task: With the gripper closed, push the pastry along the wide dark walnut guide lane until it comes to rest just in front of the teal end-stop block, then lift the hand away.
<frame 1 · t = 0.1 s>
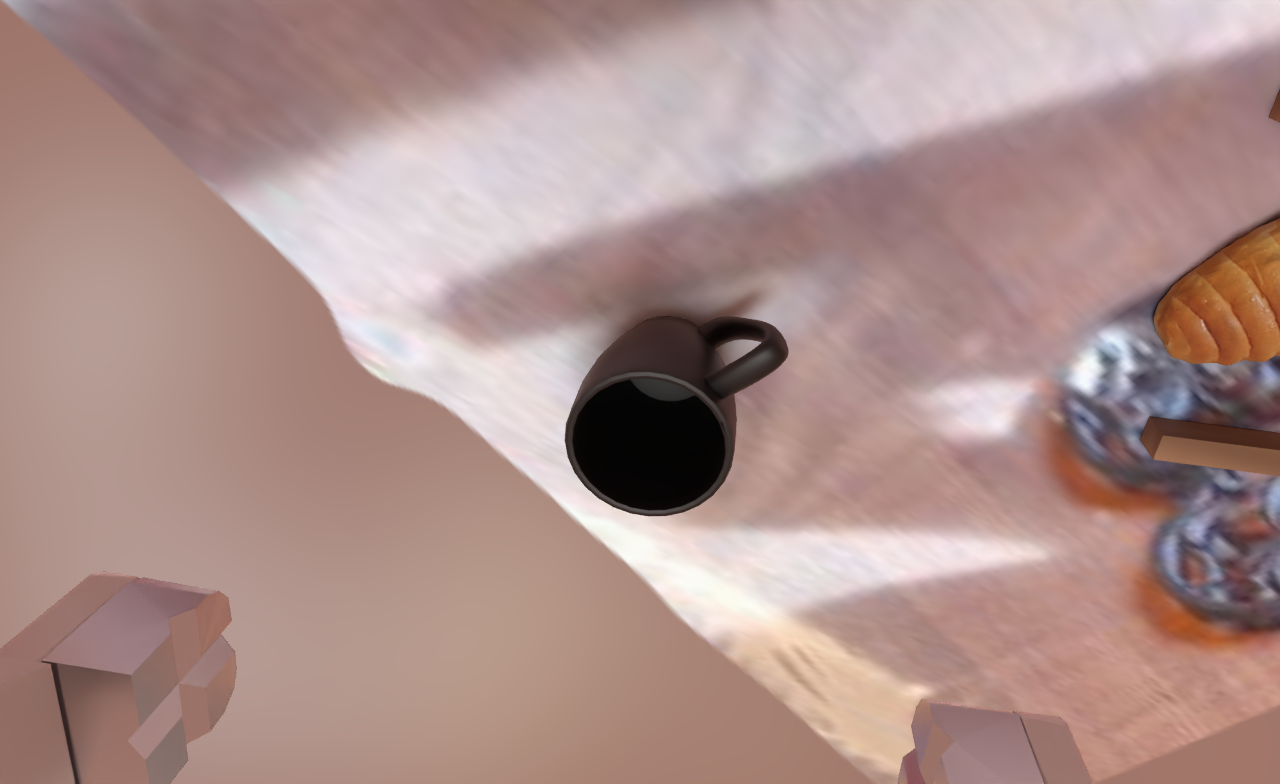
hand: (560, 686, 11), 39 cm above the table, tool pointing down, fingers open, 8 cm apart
mug: (695, 341, 51), on the table
pastry: (1263, 283, 46), on the table
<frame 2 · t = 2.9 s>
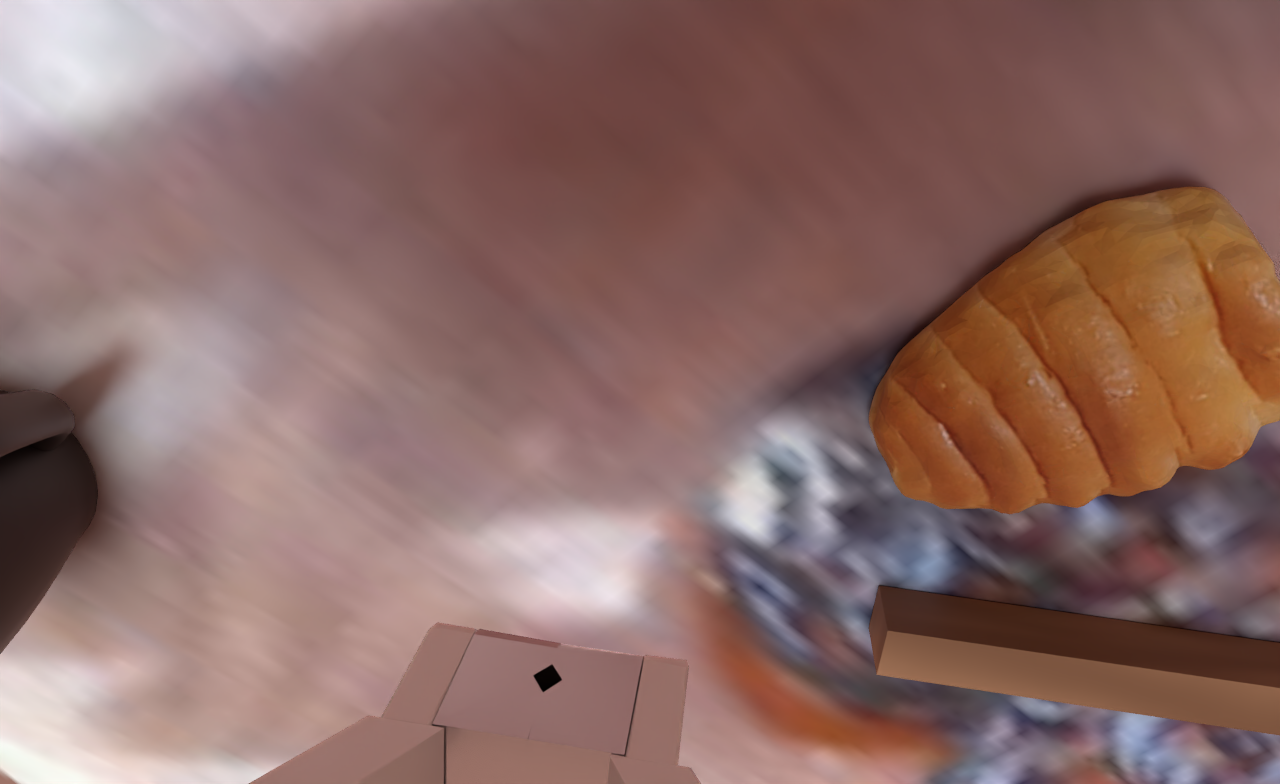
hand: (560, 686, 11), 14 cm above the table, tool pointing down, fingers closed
mug: (52, 434, 28), on the table
pastry: (1076, 347, 23), on the table
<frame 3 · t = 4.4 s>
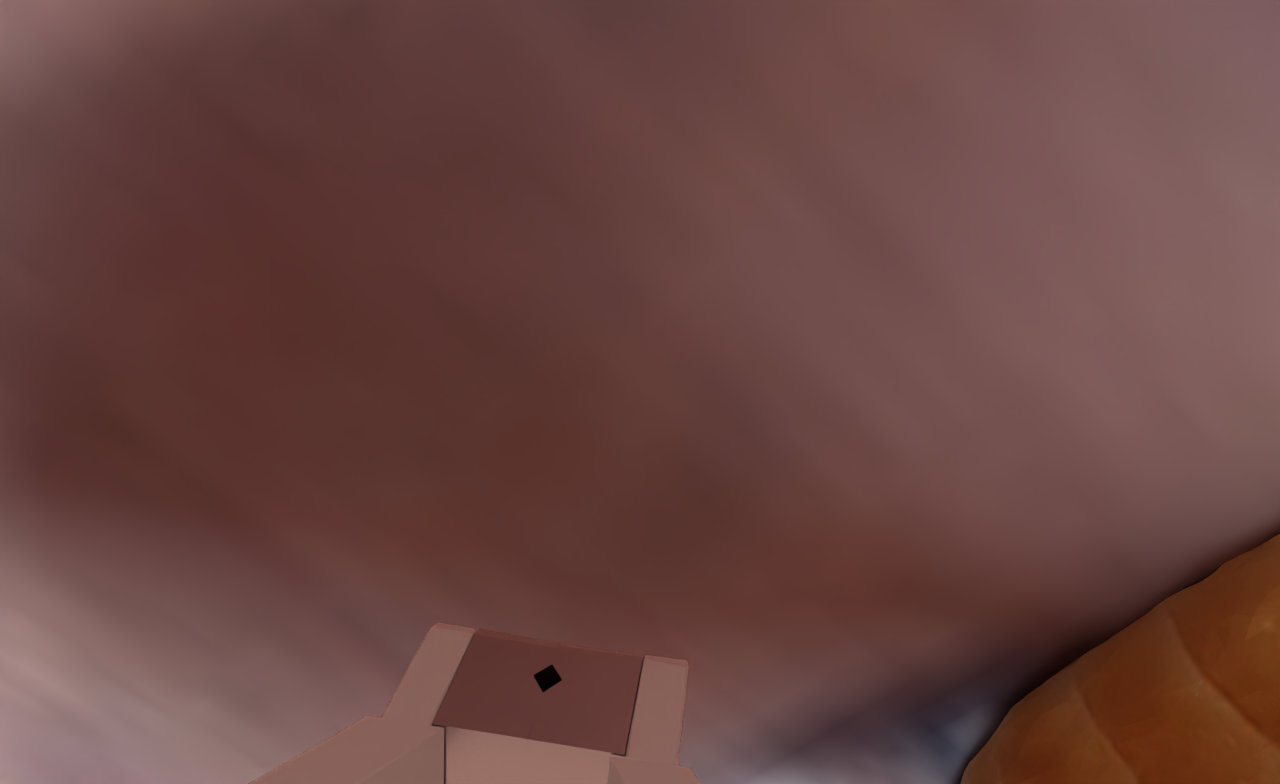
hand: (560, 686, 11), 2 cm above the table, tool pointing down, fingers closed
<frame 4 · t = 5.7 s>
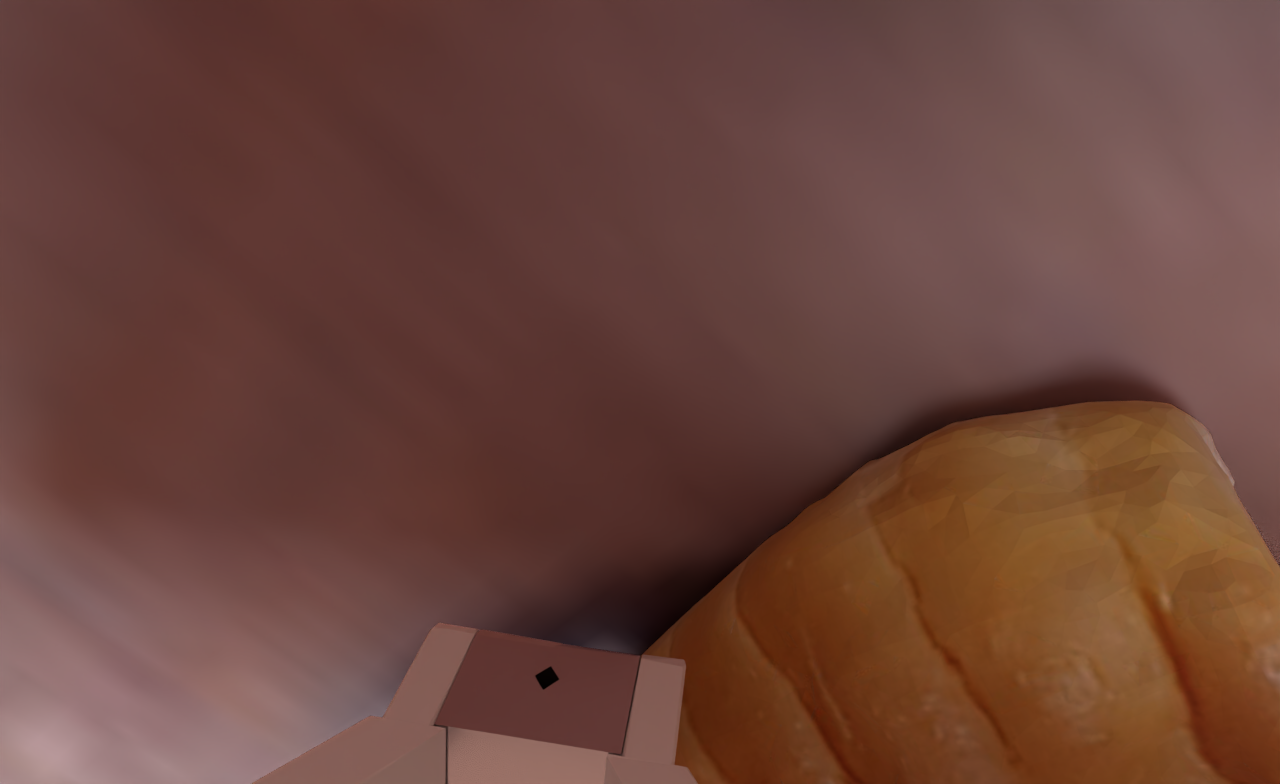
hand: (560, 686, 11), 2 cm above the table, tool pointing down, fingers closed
pastry: (951, 643, 13), on the table, touching gripper
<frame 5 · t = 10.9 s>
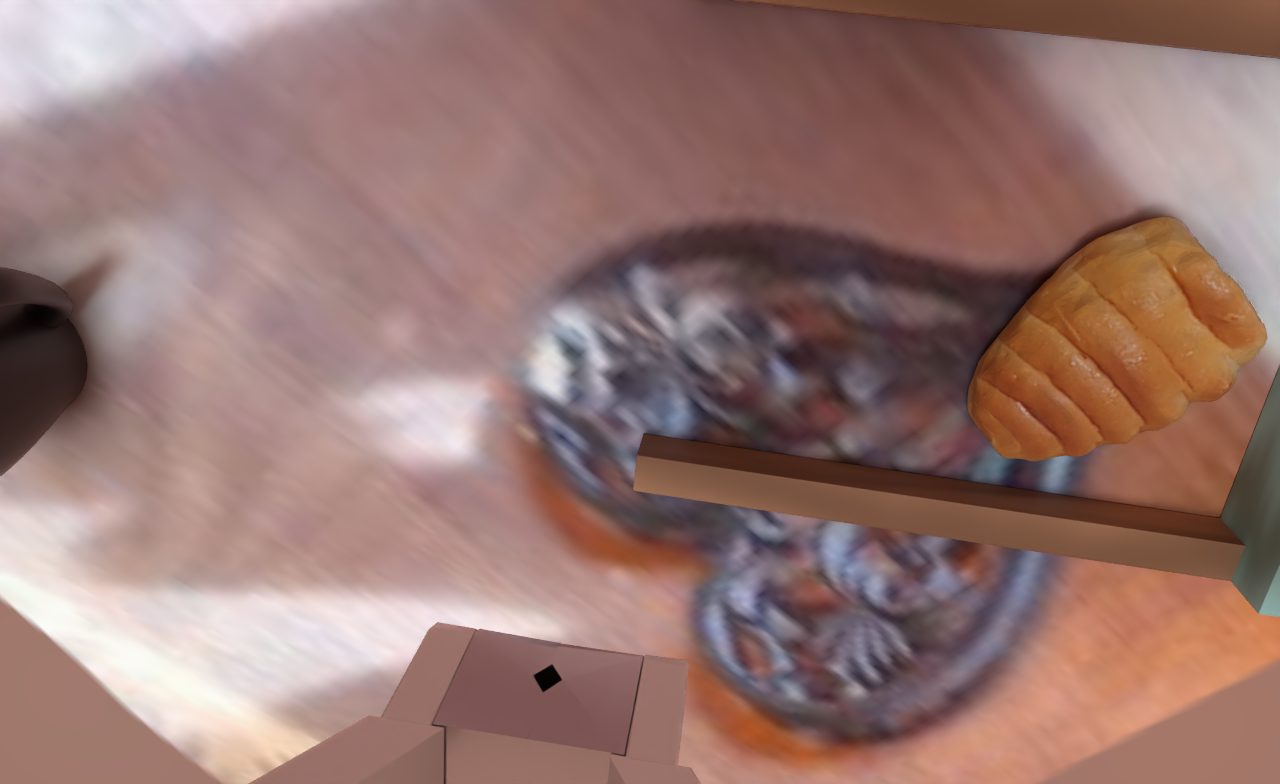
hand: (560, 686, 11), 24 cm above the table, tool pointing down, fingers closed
mug: (55, 323, 38), on the table
guide channel: (1002, 278, 32), on the table
pastry: (1104, 334, 33), on the table
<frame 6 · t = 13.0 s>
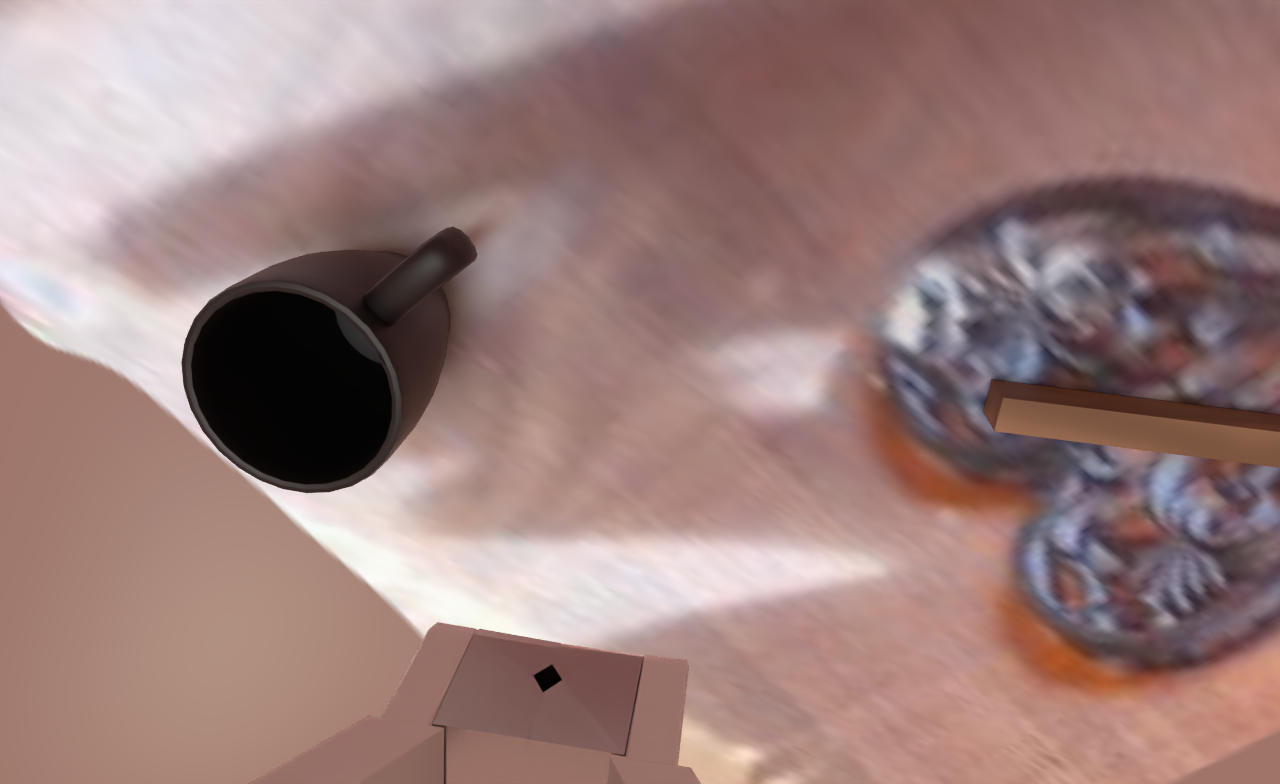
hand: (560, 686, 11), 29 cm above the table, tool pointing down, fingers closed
mug: (421, 286, 40), on the table
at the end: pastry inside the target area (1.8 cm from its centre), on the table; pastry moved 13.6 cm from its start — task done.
